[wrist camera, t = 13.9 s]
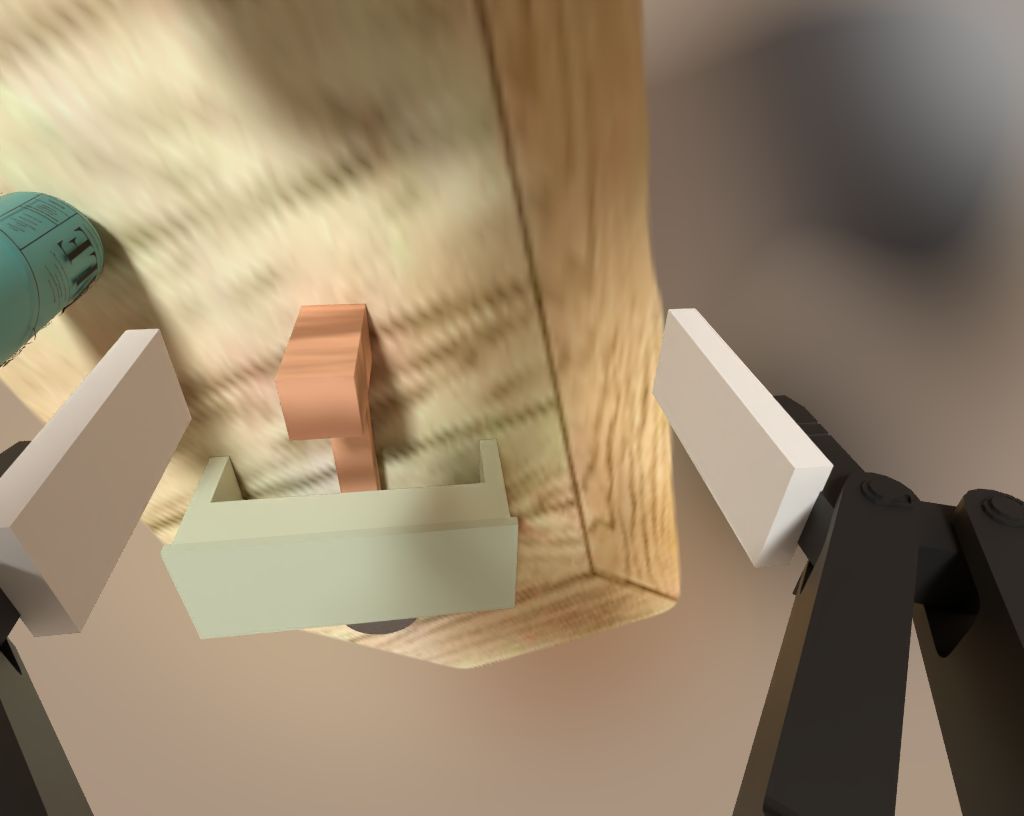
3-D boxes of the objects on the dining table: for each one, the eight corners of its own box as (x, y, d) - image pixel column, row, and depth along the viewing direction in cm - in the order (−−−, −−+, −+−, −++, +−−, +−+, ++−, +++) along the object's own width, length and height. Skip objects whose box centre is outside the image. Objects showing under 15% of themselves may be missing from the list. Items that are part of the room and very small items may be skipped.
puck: (340, 559, 58) (336, 584, 56) (421, 558, 60) (421, 582, 57) (342, 611, 63) (339, 635, 60) (418, 608, 64) (418, 632, 62)
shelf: (203, 457, 49) (160, 553, 40) (501, 438, 52) (518, 524, 44) (233, 540, 55) (200, 639, 46) (500, 518, 58) (514, 607, 49)
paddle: (301, 305, 42) (275, 380, 34) (365, 303, 43) (353, 376, 35) (345, 524, 55) (333, 615, 47) (393, 520, 56) (389, 610, 48)
